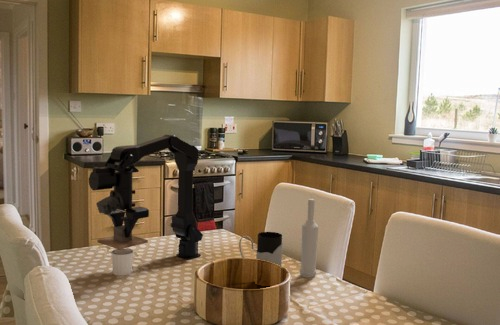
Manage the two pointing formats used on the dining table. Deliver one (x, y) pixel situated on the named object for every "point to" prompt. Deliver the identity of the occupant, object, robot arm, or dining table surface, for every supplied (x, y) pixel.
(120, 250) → the white cup
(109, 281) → the dining table surface
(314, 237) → the bottle
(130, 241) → the walnut lid
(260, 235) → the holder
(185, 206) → the robot arm
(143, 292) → the dining table surface
